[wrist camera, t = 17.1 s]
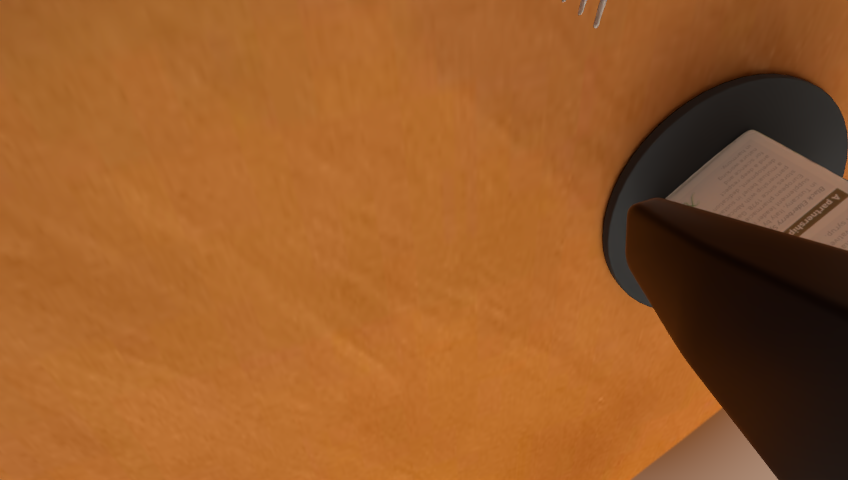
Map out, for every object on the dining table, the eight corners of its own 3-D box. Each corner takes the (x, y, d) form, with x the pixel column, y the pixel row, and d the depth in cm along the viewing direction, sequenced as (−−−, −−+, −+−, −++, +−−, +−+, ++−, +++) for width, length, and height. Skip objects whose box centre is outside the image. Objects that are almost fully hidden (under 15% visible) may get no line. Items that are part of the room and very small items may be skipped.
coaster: (615, 337, 30) (620, 344, 29) (586, 137, 23) (593, 142, 23) (825, 250, 30) (833, 256, 30) (854, 30, 24) (865, 33, 23)
